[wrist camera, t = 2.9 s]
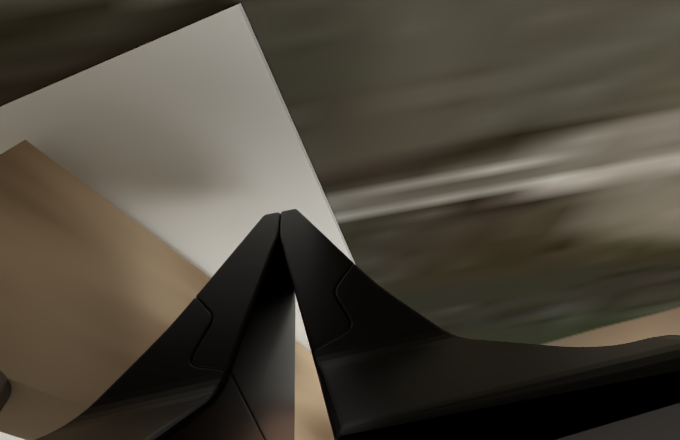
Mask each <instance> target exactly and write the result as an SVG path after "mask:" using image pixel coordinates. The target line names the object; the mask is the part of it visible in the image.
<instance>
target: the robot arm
mask: <svg viewBox="0 0 680 440" xmlns="http://www.w3.org/2000/svg"><path fill="white" fill-rule="evenodd" d="M295 295H296V299H297V302H298V306H299V310H300V313H301V317H302V320H303V324H304V328H305V331H306V335H307V338H308V342H309V346H310V349H311V353H312V356H313V360H314V364H315V367H316V371H317V375H318V379H319V382H320V386H321V390H322V394H323V398H324V402H325V405H326V409H327V413H328V417H329V421H330V425H331V429H332V433H333V436H334V440H680V336H679V335H666V336H659V337H652V338H648V339H644V340H639V341H636V342H631V343H626V344H620V345H614V346H602V347H559V346H547V345H535V344H523V343H511V342H499V341H487V340H475V339H466V338H462V337H458V336H456V335H453V334H451V333H449V332H447V331H445V330H443V329H441V328H440V327H438V326H437V325H435V324H434V323H432V322H431V321H429V320H428V319H426V318H425V317H423V316H422V315H421V314H419V313H418V312H416V311H415V310H413V309H412V308H410V307H409V306H408V305H406V304H405V303H403V302H402V301H400V300H399V299H397V298H396V297H394V296H393V295H392V294H390V293H389V292H388V291H386V290H385V289H383V288H382V287H381V286H379V285H378V284H377V283H376V282H374V281H373V280H372V279H371V278H370V277H369V276H367V275H366V274H365V273H364V272H363V271H362V270H361V269H360V268H359V267H358V266H357V265H355V264H354V263H353V262H352V261H351V260H350V259H349V258H348V257H347V256H346V255H345V254H344V253H343V252H342V251H341V250H340V249H338V248H337V247H336V246H335V245H334V244H333V243H332V242H331V241H330V240H329V239H328V238H327V237H326V236H325V235H324V234H323V233H322V232H320V231H319V230H318V229H317V228H316V227H315V226H314V225H313V224H312V223H311V222H310V221H309V220H308V219H307V218H306V217H305V216H304V215H302V214H301V213H300V212H299V211H298V210H297V209H291V210H286V211H282V212H281V214H280V213H278V212H276V213H271V214H266V215H264V216H263V217H262V218H261V219H260V220H259V222H258V223H257V224H256V225H255V226H254V228H253V229H252V230H251V231H250V232H249V234H248V235H247V236H246V237H245V238H244V240H243V241H242V242H241V243H240V244H239V245H238V247H237V248H236V249H235V250H234V251H233V253H232V254H231V255H230V256H229V257H228V259H227V260H226V261H225V262H224V263H223V264H222V266H221V267H220V268H219V269H218V270H217V272H216V273H215V274H214V275H213V276H212V278H211V279H210V280H209V281H208V282H207V284H206V285H205V286H204V287H203V288H202V289H201V291H200V292H199V293H198V294H197V295H196V298H194V299H193V300H192V301H191V302H190V304H189V305H188V306H187V307H186V308H185V310H184V311H183V312H182V313H181V314H180V315H179V316H178V317H177V319H176V320H175V321H174V322H173V323H172V324H171V325H170V326H169V328H168V329H167V330H166V331H165V332H164V333H163V334H162V335H161V336H160V337H159V338H158V339H157V340H156V341H155V342H154V343H153V344H152V345H151V346H150V347H149V348H148V349H147V350H146V351H145V352H144V353H143V354H142V355H141V356H140V357H139V358H138V359H137V360H136V361H135V362H134V363H133V364H132V365H131V366H130V367H129V368H128V369H127V370H126V371H125V372H124V373H123V374H122V375H121V376H120V377H119V378H118V379H117V380H116V381H115V382H114V383H113V384H112V385H111V386H110V387H109V388H108V389H107V390H106V391H105V392H104V393H103V394H102V395H101V396H100V397H99V398H98V399H97V400H96V401H95V402H94V403H93V404H92V405H91V406H90V407H88V408H87V409H86V410H85V411H84V412H82V413H81V414H80V415H79V416H77V417H76V418H74V419H73V420H71V421H70V422H68V423H67V424H65V425H64V426H62V427H60V428H58V429H57V430H55V431H53V432H51V433H49V434H47V435H45V436H42V437H40V438H37V439H35V440H294V431H295Z"/></svg>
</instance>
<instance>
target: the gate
mask: <svg viewBox="0 0 680 440" xmlns="http://www.w3.org/2000/svg"><path fill="white" fill-rule="evenodd" d="M210 279H211V278H210V277H209V276H207V275H206V274H205V273H203V272H202V271H201V270H199V269H198V268H197V267H195V266H194V265H192V264H191V263H190V262H188V261H187V260H186V259H184V258H183V257H182V256H180V255H179V254H178V253H176V252H175V251H174V250H172V249H171V248H170V247H168V246H167V245H166V244H164V243H163V242H162V241H160V240H159V239H158V238H156V237H155V236H154V235H152V234H151V233H150V232H148V231H147V230H146V229H144V228H143V227H142V226H140V225H139V224H138V223H136V222H135V221H134V220H132V219H131V218H130V217H128V216H127V215H126V214H124V213H123V212H122V211H120V210H119V209H118V208H116V207H115V206H114V205H112V204H111V203H110V202H108V201H107V200H106V199H104V198H103V197H102V196H100V195H99V194H98V193H96V192H95V191H94V190H92V189H91V188H90V187H88V186H87V185H86V184H84V183H83V182H82V181H80V180H79V179H78V178H76V177H75V176H74V175H72V174H71V173H70V172H68V171H67V170H65V169H64V168H63V167H61V166H60V165H59V164H57V163H56V162H55V161H53V160H52V159H51V158H49V157H48V156H47V155H45V154H44V153H43V152H41V151H40V150H39V149H37V148H36V147H35V146H33V145H32V144H31V143H29V142H28V141H27V140H24V141H22V142H20V143H19V144H17V145H15V146H14V147H12V148H10V149H9V150H7V151H5V152H4V153H2V154H0V432H3V433H6V434H9V435H12V436H15V437H19V438H22V439H25V440H35V439H37V438H40V437H42V436H45V435H47V434H49V433H51V432H53V431H55V430H57V429H58V428H60V427H62V426H64V425H65V424H67V423H68V422H70V421H71V420H73V419H74V418H76V417H77V416H79V415H80V414H81V413H82V412H84V411H85V410H86V409H87V408H88V407H90V406H91V405H92V404H93V403H94V402H95V401H96V400H97V399H98V398H99V397H100V396H101V395H102V394H103V393H104V392H105V391H106V390H107V389H108V388H109V387H110V386H111V385H112V384H113V383H114V382H115V381H116V380H117V379H118V378H119V377H120V376H121V375H122V374H123V373H124V372H125V371H126V370H127V369H128V368H129V367H130V366H131V365H132V364H133V363H134V362H135V361H136V360H137V359H138V358H139V357H140V356H141V355H142V354H143V353H144V352H145V351H146V350H147V349H148V348H149V347H150V346H151V345H152V344H153V343H154V342H155V341H156V340H157V339H158V338H159V337H160V336H161V335H162V334H163V333H164V332H165V331H166V330H167V329H168V328H169V326H170V325H171V324H172V323H173V322H174V321H175V320H176V319H177V317H178V316H179V315H180V314H181V313H182V312H183V311H184V310H185V308H186V307H187V306H188V305H189V304H190V302H191V301H192V300H193V299H194V298H196V295H197V294H198V293H199V292H200V291H201V289H202V288H203V287H204V286H205V285H206V284H207V282H208V281H209V280H210ZM294 440H334V436H333V433H332V429H331V425H330V421H329V417H328V413H327V409H326V405H325V402H324V398H323V394H322V390H321V386H320V382H319V379H318V375H317V371H316V367H315V364H314V360H313V356H312V354H311V353H310V352H309V351H307V350H306V349H305V348H303V347H302V346H301V345H299V344H298V343H297V342H295V431H294Z"/></svg>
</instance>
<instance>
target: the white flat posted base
mask: <svg viewBox="0 0 680 440" xmlns="http://www.w3.org/2000/svg"><path fill="white" fill-rule="evenodd" d="M24 140H27V141H28V142H29V143H31V144H32V145H33V146H35V147H36V148H37V149H39V150H40V151H41V152H43V153H44V154H45V155H47V156H48V157H49V158H51V159H52V160H53V161H55V162H56V163H57V164H59V165H60V166H61V167H63V168H64V169H65V170H67V171H68V172H70V173H71V174H72V175H74V176H75V177H76V178H78V179H79V180H80V181H82V182H83V183H84V184H86V185H87V186H88V187H90V188H91V189H92V190H94V191H95V192H96V193H98V194H99V195H100V196H102V197H103V198H104V199H106V200H107V201H108V202H110V203H111V204H112V205H114V206H115V207H116V208H118V209H119V210H120V211H122V212H123V213H124V214H126V215H127V216H128V217H130V218H131V219H132V220H134V221H135V222H136V223H138V224H139V225H140V226H142V227H143V228H144V229H146V230H147V231H148V232H150V233H151V234H152V235H154V236H155V237H156V238H158V239H159V240H160V241H162V242H163V243H164V244H166V245H167V246H168V247H170V248H171V249H172V250H174V251H175V252H176V253H178V254H179V255H180V256H182V257H183V258H184V259H186V260H187V261H188V262H190V263H191V264H192V265H194V266H195V267H197V268H198V269H199V270H201V271H202V272H203V273H205V274H206V275H207V276H209V277H210V278H212V276H213V275H214V274H215V273H216V272H217V270H218V269H219V268H220V267H221V266H222V264H223V263H224V262H225V261H226V260H227V259H228V257H229V256H230V255H231V254H232V253H233V251H234V250H235V249H236V248H237V247H238V245H239V244H240V243H241V242H242V241H243V240H244V238H245V237H246V236H247V235H248V234H249V232H250V231H251V230H252V229H253V228H254V226H255V225H256V224H257V223H258V222H259V220H260V219H261V218H262V217H263V216H264V215H266V214H271V213H276V212H278V213H280V214H281V212H282V211H286V210H291V209H297V210H298V211H299V212H300V213H301V214H302V215H304V216H305V217H306V218H307V219H308V220H309V221H310V222H311V223H312V224H313V225H314V226H315V227H316V228H317V229H318V230H319V231H320V232H322V233H323V234H324V235H325V236H326V237H327V238H328V239H329V240H330V241H331V242H332V243H333V244H334V245H335V246H336V247H337V248H338V249H340V250H341V251H342V252H343V253H344V254H345V255H346V256H347V257H348V258H349V259H350V260H351V261H352V262H353V263H354V264H355V262H354V260H353V258H352V255H351V253H350V251H349V248H348V246H347V244H346V242H345V239H344V237H343V235H342V233H341V230H340V228H339V226H338V223H337V221H336V219H335V217H334V214H333V212H332V210H331V207H330V205H329V203H328V201H327V198H326V196H325V194H324V192H323V189H322V187H321V185H320V182H319V180H318V178H317V176H316V173H315V171H314V169H313V166H312V164H311V162H310V160H309V157H308V155H307V153H306V150H305V148H304V146H303V144H302V141H301V139H300V137H299V135H298V132H297V130H296V128H295V125H294V123H293V121H292V119H291V116H290V114H289V112H288V109H287V107H286V105H285V103H284V100H283V98H282V96H281V94H280V91H279V89H278V87H277V84H276V82H275V80H274V78H273V75H272V73H271V71H270V68H269V66H268V64H267V62H266V59H265V57H264V55H263V53H262V50H261V48H260V46H259V43H258V41H257V39H256V37H255V34H254V32H253V30H252V27H251V25H250V23H249V21H248V18H247V16H246V14H245V12H244V9H243V7H242V5H241V3H240V4H237V5H235V6H233V7H230V8H228V9H226V10H223V11H221V12H219V13H217V14H214V15H212V16H210V17H207V18H205V19H203V20H200V21H198V22H196V23H193V24H191V25H189V26H186V27H184V28H182V29H179V30H177V31H175V32H172V33H170V34H168V35H165V36H163V37H161V38H158V39H156V40H154V41H152V42H149V43H147V44H145V45H142V46H140V47H138V48H135V49H133V50H131V51H128V52H126V53H124V54H121V55H119V56H117V57H114V58H112V59H110V60H107V61H105V62H103V63H100V64H98V65H96V66H93V67H91V68H89V69H87V70H84V71H82V72H80V73H77V74H75V75H73V76H70V77H68V78H66V79H63V80H61V81H59V82H56V83H54V84H52V85H49V86H47V87H45V88H42V89H40V90H38V91H35V92H33V93H31V94H29V95H26V96H24V97H22V98H19V99H17V100H15V101H12V102H10V103H8V104H5V105H3V106H1V107H0V154H2V153H4V152H5V151H7V150H9V149H10V148H12V147H14V146H15V145H17V144H19V143H20V142H22V141H24ZM355 265H356V264H355ZM295 342H297V343H298V344H299V345H301V346H302V347H303V348H305V349H306V350H307V351H309V352H310V353H311V349H310V346H309V342H308V338H307V335H306V331H305V328H304V324H303V320H302V317H301V313H300V310H299V306H298V302H297V299H296V295H295ZM311 354H312V353H311ZM0 440H25V439H22V438H19V437H15V436H12V435H9V434H6V433H3V432H0Z"/></svg>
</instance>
